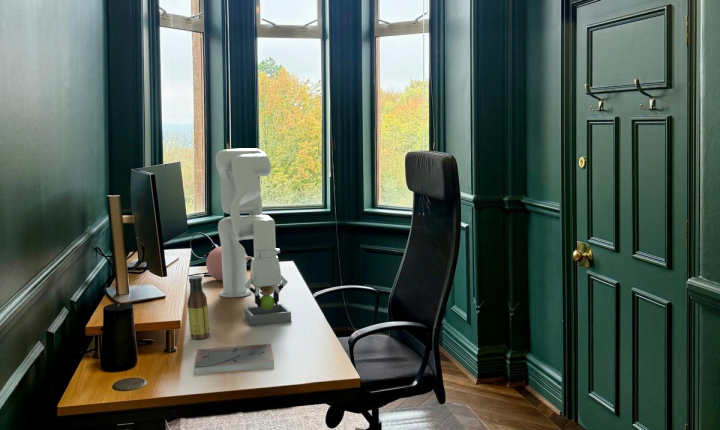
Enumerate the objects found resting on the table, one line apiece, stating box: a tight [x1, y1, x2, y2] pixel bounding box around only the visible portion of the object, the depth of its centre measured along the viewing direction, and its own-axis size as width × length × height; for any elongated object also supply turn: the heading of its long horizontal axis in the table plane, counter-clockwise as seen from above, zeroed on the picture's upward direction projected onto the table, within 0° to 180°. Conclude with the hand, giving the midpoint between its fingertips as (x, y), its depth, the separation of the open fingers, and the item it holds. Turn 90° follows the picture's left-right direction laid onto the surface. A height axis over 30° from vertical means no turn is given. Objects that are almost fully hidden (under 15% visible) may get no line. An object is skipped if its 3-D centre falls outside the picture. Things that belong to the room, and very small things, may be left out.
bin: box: [243, 303, 292, 327], centre depth 242 cm, size 13×14×4 cm
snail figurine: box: [259, 285, 275, 310], centre depth 241 cm, size 5×6×12 cm
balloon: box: [205, 246, 253, 282], centre depth 307 cm, size 15×20×15 cm
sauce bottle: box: [187, 275, 211, 340], centre depth 222 cm, size 6×6×20 cm
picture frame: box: [194, 343, 275, 375], centre depth 199 cm, size 16×2×22 cm
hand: (267, 304), depth 242 cm, fingers closed on snail figurine, 5 cm apart
